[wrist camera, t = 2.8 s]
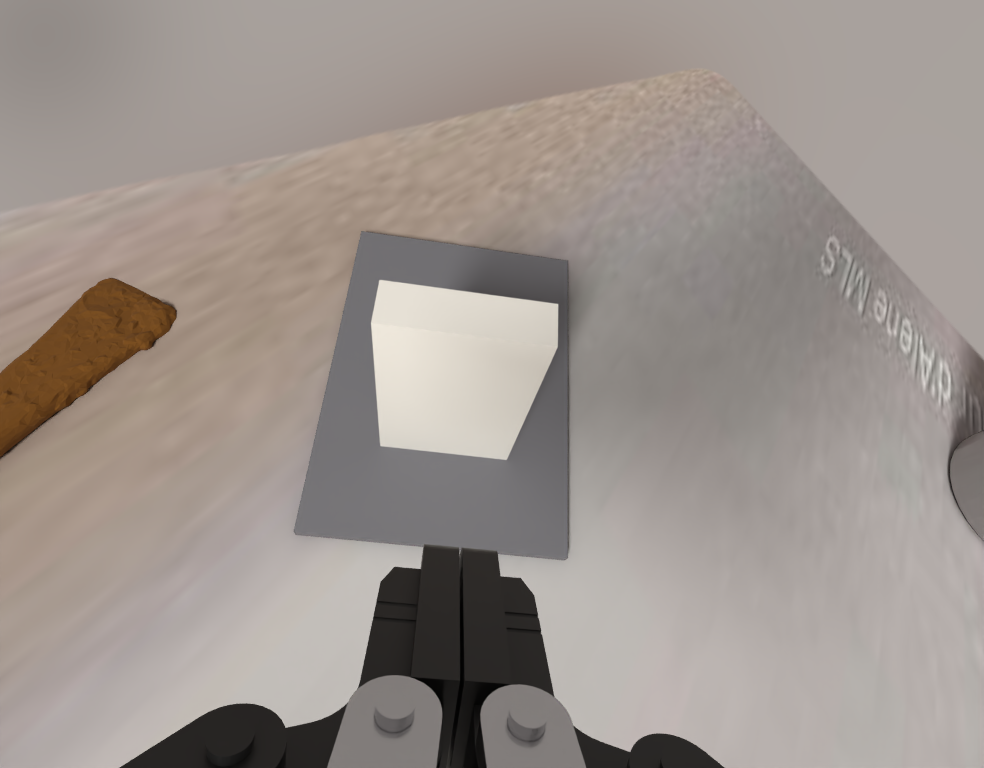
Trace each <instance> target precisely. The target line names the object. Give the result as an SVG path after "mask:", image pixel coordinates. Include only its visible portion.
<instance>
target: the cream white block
mask: <svg viewBox="0 0 984 768" xmlns="http://www.w3.org/2000/svg"><path fill="white" fill-rule="evenodd" d="M371 329H372V342H373V356H374V369H375V383H376V396H377V410H378V423H379V437H380V446H384V447H393V448H403V449H412V450H421V451H430V452H439V453H448V454H457V455H466V456H475V457H484V458H493V459H502V460H507V458H508V456H509V454H510V452H511V449H512V447H513V445H514V443H515V441H516V438H517V436H518V434H519V432H520V429H521V427H522V425H523V423H524V421H525V418H526V416H527V414H528V412H529V410H530V407H531V405H532V403H533V401H534V398H535V396H536V394H537V392H538V390H539V387H540V385H541V383H542V381H543V379H544V376H545V374H546V372H547V370H548V368H549V365H550V363H551V361H552V359H553V356H554V354H555V352H556V350H557V348H558V304H554V303H547V302H539V301H532V300H525V299H517V298H510V297H503V296H495V295H488V294H481V293H473V292H466V291H459V290H451V289H444V288H437V287H429V286H422V285H415V284H407V283H400V282H393V281H385V280H379V285H378V290H377V295H376V300H375V305H374V310H373V315H372V320H371Z"/></svg>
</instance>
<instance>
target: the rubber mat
mask: <svg viewBox="0 0 984 768" xmlns="http://www.w3.org/2000/svg"><path fill="white" fill-rule="evenodd" d="M379 280H385V281H393V282H400V283H407V284H415V285H422V286H429V287H437V288H444V289H451V290H459V291H466V292H473V293H481V294H488V295H495V296H503V297H510V298H517V299H525V300H532V301H539V302H547V303H554V304H558V348H557V350H556V352H555V354H554V356H553V359H552V361H551V363H550V365H549V368H548V370H547V372H546V374H545V376H544V379H543V381H542V383H541V385H540V387H539V390H538V392H537V394H536V396H535V398H534V401H533V403H532V405H531V407H530V410H529V412H528V414H527V416H526V418H525V421H524V423H523V425H522V427H521V429H520V432H519V434H518V436H517V438H516V441H515V443H514V445H513V447H512V449H511V452H510V454H509V456H508V458H507V460H502V459H493V458H484V457H475V456H466V455H457V454H448V453H439V452H430V451H421V450H412V449H403V448H393V447H384V446H380V437H379V423H378V410H377V396H376V383H375V369H374V356H373V342H372V329H371V320H372V315H373V310H374V305H375V300H376V295H377V290H378V285H379ZM294 533H295V535H305V536H315V537H326V538H336V539H347V540H357V541H368V542H378V543H389V544H399V545H410V546H420V547H424V544H431V545H441V546H452V547H459V550H461V548H462V547H463V548H474V549H484V550H495V551H497V553H498V554H505V555H515V556H526V557H536V558H547V559H557V560H566V559H567V558H568V261H566V260H559V259H552V258H545V257H538V256H531V255H524V254H517V253H510V252H503V251H496V250H489V249H482V248H475V247H468V246H461V245H454V244H447V243H440V242H433V241H426V240H420V239H413V238H406V237H399V236H392V235H385V234H378V233H371V232H364V231H361V236H360V240H359V245H358V249H357V253H356V258H355V262H354V267H353V271H352V276H351V280H350V284H349V289H348V293H347V298H346V302H345V306H344V311H343V315H342V320H341V324H340V329H339V333H338V337H337V342H336V346H335V351H334V355H333V360H332V364H331V368H330V373H329V377H328V382H327V386H326V391H325V395H324V399H323V404H322V408H321V413H320V417H319V422H318V426H317V430H316V435H315V439H314V444H313V448H312V453H311V457H310V461H309V466H308V470H307V475H306V479H305V484H304V488H303V492H302V497H301V501H300V506H299V510H298V514H297V519H296V523H295V528H294Z"/></svg>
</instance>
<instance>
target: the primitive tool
mask: <svg viewBox="0 0 984 768" xmlns="http://www.w3.org/2000/svg"><path fill="white" fill-rule="evenodd" d="M175 319H176V310H175V309H174V308H173V307H172V306H169V305H166V304H164V303H162V302H161V301H160V300H159V299H157V298H154V297H152V296H150V295H148V294H146V293H144V292H142V291H140V290H138V289H136V288H134V287H132V286H130V285H128V284H126V283H124V282H122V281H119V280H117V279H113V278H109V279H105V280H102V281H100V282H98V283H97V285H96V286H94V287H92V288H90V289H89V290H87V291H86V292H85V293H84V294H83V295H82V297H81V298H80V299H79V300H78V301H77V302H75V303H74V304H73V305H72V307H71V308H70V309H69V310H68V311H67V312H66V313H65V314H64V315H63V316H62V317H61V318H60V319H59V320H58V321H57V322H56V323H55V324H54V325H53V326H52V327H51V328H50V329H49V330H48V331H47V332H46V333H45V334H44V335H43V336H42V337H41V338H40V339H39V340H38V341H37V342H36V343H34V344H33V345H32V346H31V347H30V348H29V350H27V351H26V352H24V353H23V354H22V355H20V356H19V357H18V358H16V359H15V360H14V361H13V362H12V363H10V364H9V365H8V366H7V367H6V368H5V369H4V370H3V371H2V372H1V373H0V457H1V456H3V455H4V454H5V453H6V452H7V451H8V450H9V449H11V448H12V447H13V446H14V445H16V444H17V443H18V442H20V441H21V440H22V439H24V438H25V437H26V436H27V435H29V434H30V433H31V432H32V431H34V430H35V429H36V428H37V427H38V426H39V425H41V424H42V423H43V422H44V421H46V420H47V419H48V418H50V417H51V416H52V415H54V414H55V413H56V412H58V411H60V410H62V409H63V408H65V407H67V406H69V405H70V404H71V403H72V402H73V401H74V400H75V399H76V398H78V397H80V396H83V395H84V394H85V393H86V392H87V391H88V388H90V387H91V386H92V385H94V384H96V383H97V382H98V381H99V380H100V379H101V378H102V377H104V376H105V375H107V374H108V373H110V372H111V371H113V370H115V369H116V368H117V367H118V366H119V365H120V364H122V363H123V362H125V361H126V360H127V359H129V358H131V357H132V356H133V355H134V354H135V353H137V352H139V351H140V350H148V349H150V348H151V347H152V344H153V342H154V341H155V340H156V339H158V338H160V337H162V336H163V335H164V334H166V333H167V332H168V331H169V330H170V329H171V325H172V324H173V322H174V321H175Z"/></svg>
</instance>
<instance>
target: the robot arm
mask: <svg viewBox="0 0 984 768" xmlns="http://www.w3.org/2000/svg"><path fill="white" fill-rule="evenodd" d="M950 478H951V484H952V489H953V492H954V495H955V497H956V500H957V503H958V505H959V507H960V509H961V511H962V512H963V514H964V516H965V518H966V519H967V521H968V522H969V524H970V525H971V526H972V527H973V529H974V530H975V531H976V533H977V534H978V535H979V536H980V537H981V538H982V539H983V540H984V430H983V431H981V432H979V433H977V434H974V435H972V436H970V437H968V438H967V439H965V440H964V441H963V442H961V443H960V444H959V445H958V447H957V448H956V450H955V451H954V453H953V456H952V460H951V463H950ZM120 768H724V767H723V766H722V765H720V764H719V763H718V762H717V761H716V760H714V759H713V758H712V757H711V756H709V755H708V754H707V753H706V752H704V751H703V750H702V749H700V748H699V747H698V746H696V745H694V744H693V743H691V742H689V741H687V740H685V739H682V738H680V737H677V736H674V735H669V734H651V735H647V736H644V737H642V738H641V739H639V740H638V741H637V742H636V743H635V744H634V746H633V748H632V750H631V752H628V751H625V750H622V749H619V748H617V747H614V746H611V745H608V744H605V743H603V742H600V741H598V740H595V739H593V738H591V737H589V736H587V735H586V734H584V733H582V732H581V731H580V730H578V729H577V728H576V727H574V726H573V723H572V720H571V718H570V716H569V714H568V712H567V710H566V709H565V707H564V706H563V705H562V704H561V703H560V702H559V701H558V700H557V699H556V698H555V697H554V693H553V688H552V683H551V678H550V673H549V668H548V663H547V658H546V653H545V648H544V643H543V638H542V634H541V628H540V623H539V618H538V613H537V608H536V602H535V597H534V595H533V593H532V592H531V591H530V590H529V588H528V587H527V586H526V584H525V583H524V582H523V581H522V579H521V578H512V577H501V576H500V569H499V561H498V553H497V551H495V550H484V549H474V548H463V547H462V548H461V552H460V558H459V547H452V546H441V545H431V544H424V547H423V555H422V563H421V569H413V568H402V567H394V568H393V569H392V570H391V571H390V572H389V574H388V575H387V576H386V577H385V578H384V579H383V580H382V581H381V583H380V588H379V593H378V597H377V603H376V607H375V612H374V617H373V622H372V626H371V631H370V636H369V641H368V646H367V651H366V655H365V660H364V665H363V670H362V675H361V680H360V683H359V687H358V689H357V690H356V691H355V692H354V694H353V695H352V697H351V698H350V700H349V702H348V703H347V704H346V705H345V706H344V707H343V708H341V709H340V710H339V711H337V712H336V713H334V714H332V715H330V716H328V717H326V718H324V719H321V720H318V721H315V722H311V723H307V724H302V725H297V726H293V727H288V728H285V726H284V724H283V722H282V720H281V719H280V718H279V717H278V715H277V714H275V713H274V712H273V711H271V710H270V709H267V708H265V707H263V706H259V705H256V704H233V705H227V706H224V707H220V708H217V709H215V710H212V711H210V712H208V713H206V714H204V715H203V716H201V717H199V718H198V719H196V720H194V721H193V722H191V723H190V724H188V725H186V726H185V727H183V728H182V729H180V730H178V731H177V732H175V733H174V734H172V735H171V736H169V737H167V738H166V739H164V740H163V741H161V742H159V743H158V744H156V745H155V746H153V747H152V748H150V749H148V750H147V751H145V752H144V753H142V754H140V755H139V756H137V757H136V758H134V759H132V760H131V761H129V762H128V763H126V764H125V765H123V766H121V767H120Z"/></svg>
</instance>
